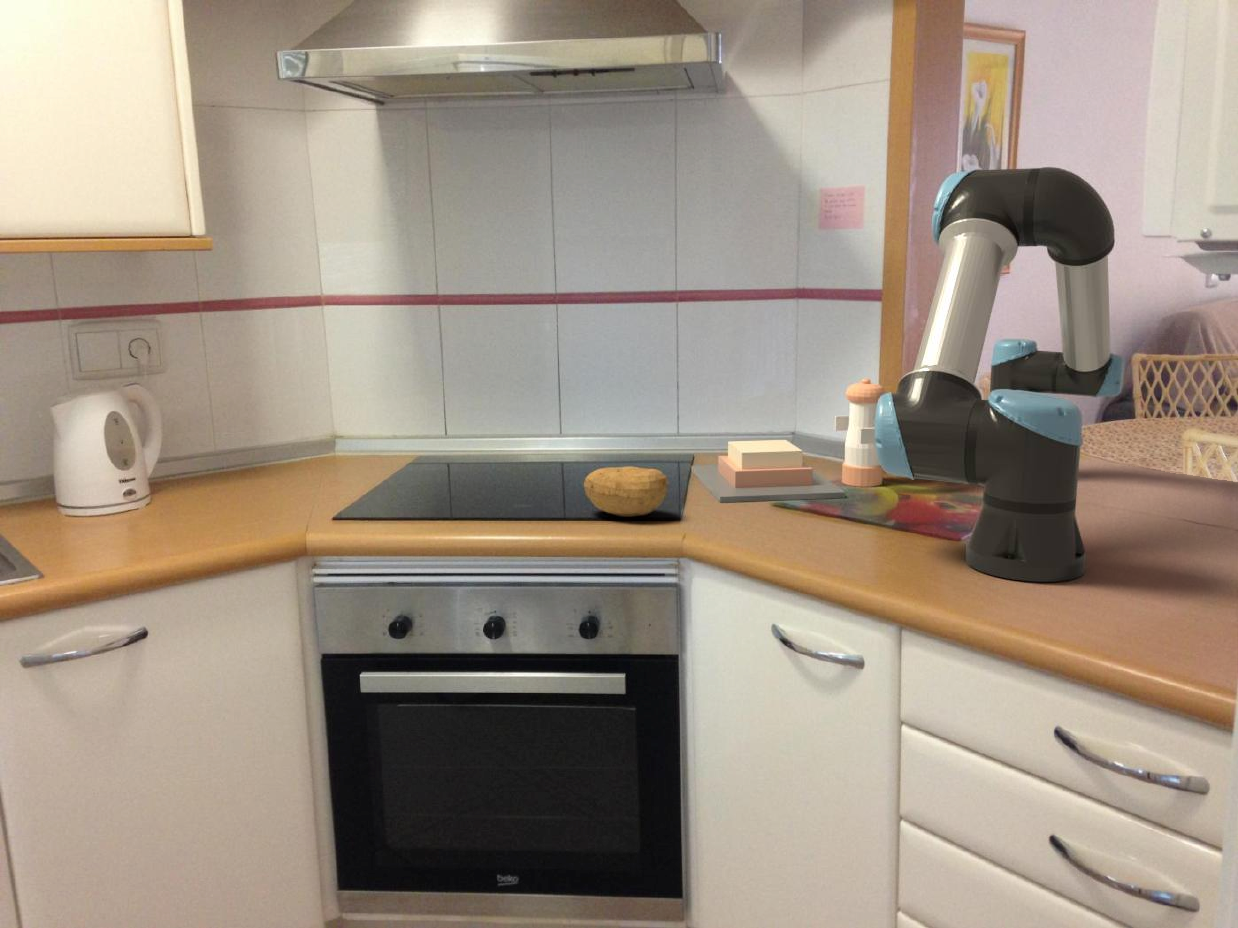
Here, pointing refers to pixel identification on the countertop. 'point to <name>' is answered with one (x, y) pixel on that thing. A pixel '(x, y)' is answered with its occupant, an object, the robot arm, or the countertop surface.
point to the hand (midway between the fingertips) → (847, 429)
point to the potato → (626, 490)
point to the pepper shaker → (859, 457)
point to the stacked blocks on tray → (764, 474)
